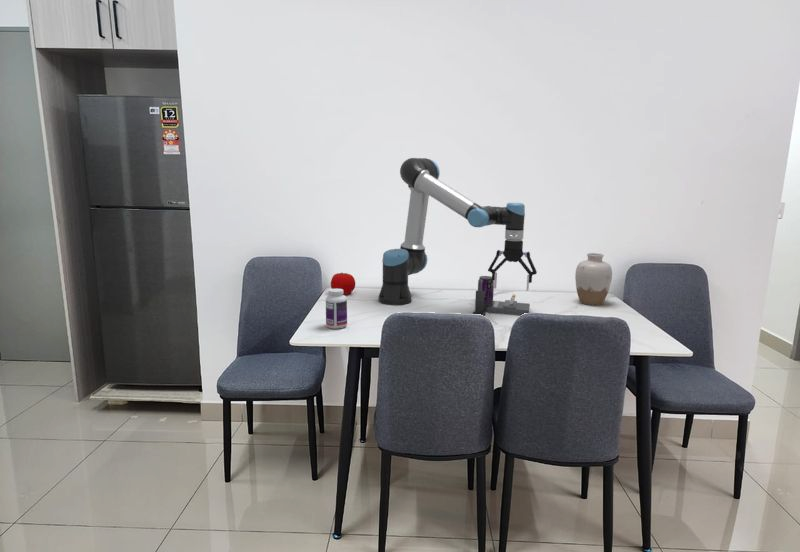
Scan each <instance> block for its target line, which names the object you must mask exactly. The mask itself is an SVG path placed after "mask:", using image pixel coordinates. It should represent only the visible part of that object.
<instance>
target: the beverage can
mask: <svg viewBox="0 0 800 552" xmlns="http://www.w3.org/2000/svg"><path fill="white" fill-rule="evenodd" d="M478 290H481V291H485V293H484V300H489V301H494V292H495V291H494V280H492V275H491V276H489V275H480V276H479V278H478V280H477V291H478Z"/></svg>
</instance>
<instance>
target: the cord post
mask: <svg viewBox="0 0 800 552" xmlns="http://www.w3.org/2000/svg"><path fill="white" fill-rule="evenodd" d="M484 293H485V291H481V290H478V289H477V290H475V300H474V301H475V302H474V304H475V306H474V311H473V312H472V315H473V314H481V315H484V316H486V313H485V312H484ZM484 316H483V317H484Z"/></svg>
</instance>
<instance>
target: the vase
mask: <svg viewBox="0 0 800 552" xmlns="http://www.w3.org/2000/svg"><path fill="white" fill-rule="evenodd" d="M586 255H587V260H582V261H581V262H578V264H577V266H576V268H575V273H574V274H575V277H574V279H575V288H576V294H577V296H578V299H579V301H580V303H581V304H583V305H587V306H602V304H604V302H605V300H606V298H607V296H608V293H609V291H610V288H611V285H612V279H613V269H612V266H611V265H610V263H608V262H606V261H603V258H604V256H605V255H604V254H603V253H595V252H588V253H587V254H586Z"/></svg>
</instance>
